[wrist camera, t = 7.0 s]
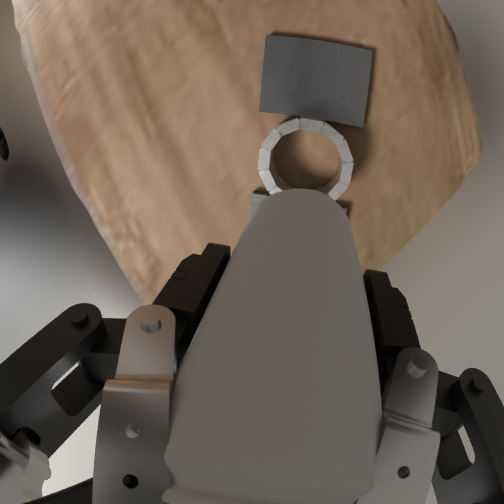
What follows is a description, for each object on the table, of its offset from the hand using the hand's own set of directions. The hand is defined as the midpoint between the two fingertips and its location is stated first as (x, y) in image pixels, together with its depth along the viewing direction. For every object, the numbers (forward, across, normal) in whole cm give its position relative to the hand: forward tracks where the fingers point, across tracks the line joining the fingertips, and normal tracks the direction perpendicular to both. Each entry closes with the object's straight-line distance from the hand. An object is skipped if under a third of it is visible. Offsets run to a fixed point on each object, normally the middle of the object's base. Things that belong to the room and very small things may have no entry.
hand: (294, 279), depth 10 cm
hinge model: (+21, 0, 0) cm, 21 cm away
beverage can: (+4, 0, 0) cm, 4 cm away
